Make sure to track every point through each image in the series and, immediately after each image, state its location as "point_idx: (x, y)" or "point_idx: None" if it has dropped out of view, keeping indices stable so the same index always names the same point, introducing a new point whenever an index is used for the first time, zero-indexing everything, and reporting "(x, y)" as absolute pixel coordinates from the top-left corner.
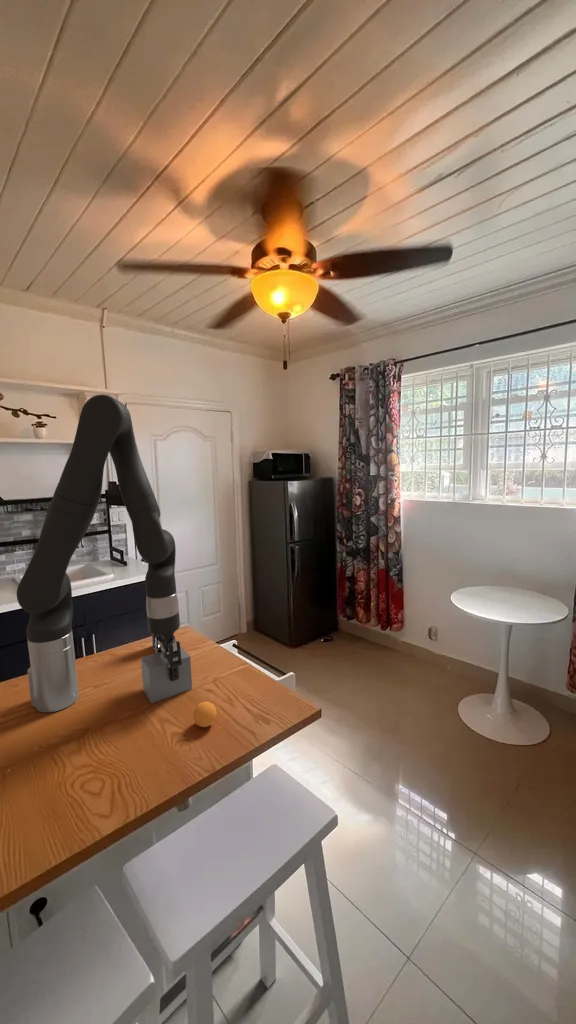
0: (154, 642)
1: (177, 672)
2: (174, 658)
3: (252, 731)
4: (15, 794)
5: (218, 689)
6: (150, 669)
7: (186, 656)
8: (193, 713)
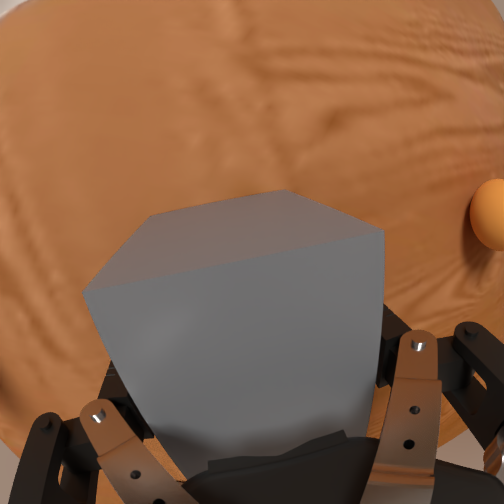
0: (95, 495)
1: (396, 317)
2: (336, 368)
3: None
4: None
5: (343, 84)
6: None
7: (366, 267)
8: (497, 250)
